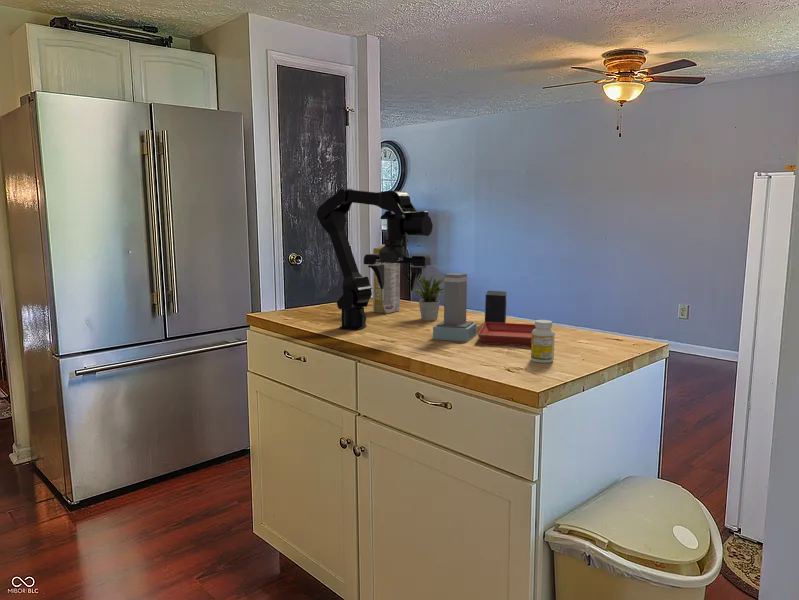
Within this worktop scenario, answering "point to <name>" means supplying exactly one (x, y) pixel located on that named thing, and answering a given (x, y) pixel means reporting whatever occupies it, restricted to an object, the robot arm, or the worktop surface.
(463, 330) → the slate stand
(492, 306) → the small box
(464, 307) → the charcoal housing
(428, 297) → the house plant
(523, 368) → the worktop surface
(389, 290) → the juice carton
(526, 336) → the plant saucer
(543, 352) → the supplement bottle
